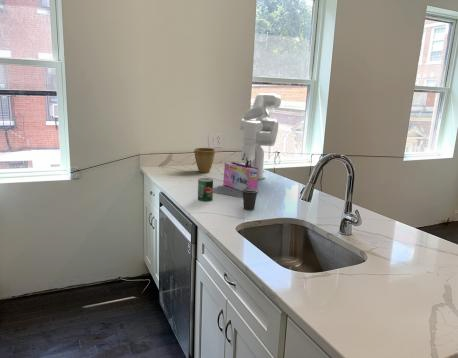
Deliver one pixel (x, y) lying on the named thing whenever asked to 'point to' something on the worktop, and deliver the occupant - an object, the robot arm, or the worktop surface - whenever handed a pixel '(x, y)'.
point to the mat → (228, 191)
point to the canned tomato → (205, 189)
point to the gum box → (240, 176)
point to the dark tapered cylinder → (249, 198)
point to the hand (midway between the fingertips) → (247, 171)
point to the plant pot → (204, 159)
